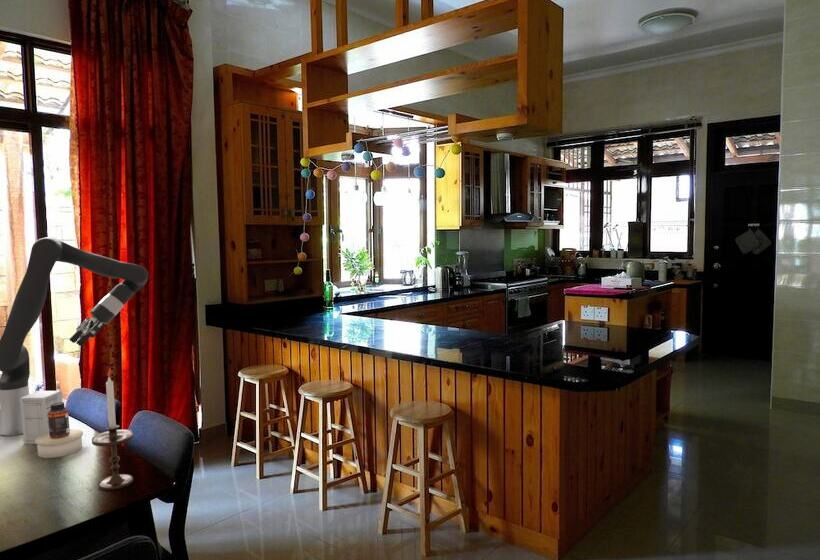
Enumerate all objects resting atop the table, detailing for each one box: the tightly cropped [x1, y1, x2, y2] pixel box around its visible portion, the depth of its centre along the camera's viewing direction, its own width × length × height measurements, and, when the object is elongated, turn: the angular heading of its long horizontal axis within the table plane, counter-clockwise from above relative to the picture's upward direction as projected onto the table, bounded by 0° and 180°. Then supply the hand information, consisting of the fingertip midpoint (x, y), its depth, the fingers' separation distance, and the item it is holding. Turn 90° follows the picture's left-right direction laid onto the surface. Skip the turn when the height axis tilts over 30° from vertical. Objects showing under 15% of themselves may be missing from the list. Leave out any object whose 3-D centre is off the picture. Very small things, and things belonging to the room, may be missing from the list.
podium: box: [35, 428, 84, 459], centre depth 196 cm, size 14×14×5 cm
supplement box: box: [20, 390, 64, 445], centre depth 207 cm, size 10×9×17 cm
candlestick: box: [91, 367, 135, 492], centre depth 168 cm, size 11×11×35 cm
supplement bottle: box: [48, 401, 71, 438], centre depth 196 cm, size 6×6×11 cm
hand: (74, 343), depth 210 cm, fingers open, 8 cm apart
